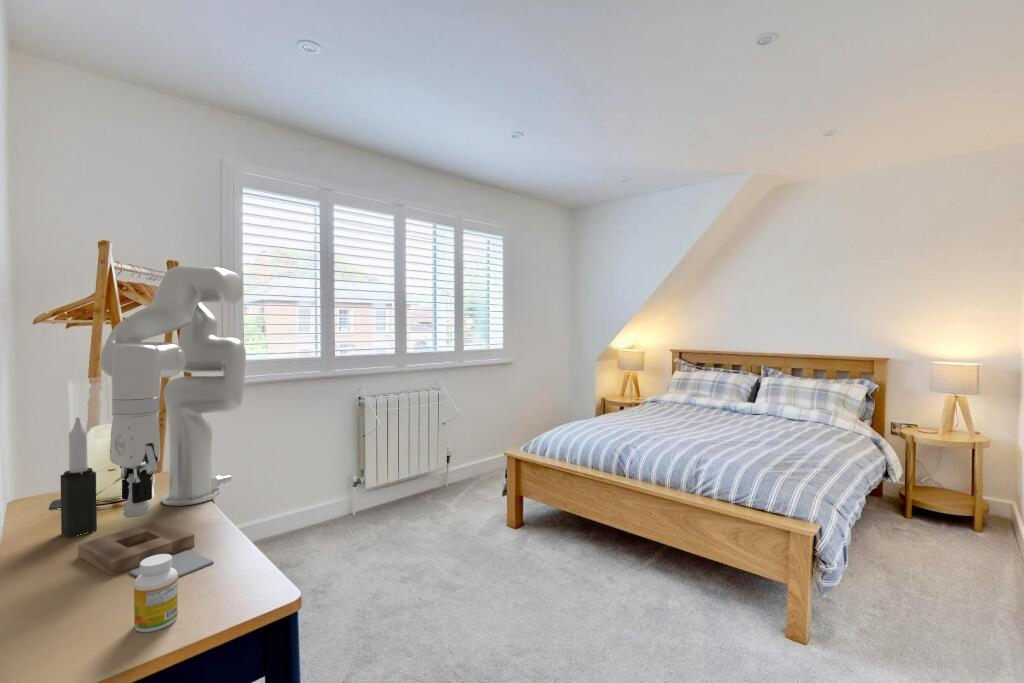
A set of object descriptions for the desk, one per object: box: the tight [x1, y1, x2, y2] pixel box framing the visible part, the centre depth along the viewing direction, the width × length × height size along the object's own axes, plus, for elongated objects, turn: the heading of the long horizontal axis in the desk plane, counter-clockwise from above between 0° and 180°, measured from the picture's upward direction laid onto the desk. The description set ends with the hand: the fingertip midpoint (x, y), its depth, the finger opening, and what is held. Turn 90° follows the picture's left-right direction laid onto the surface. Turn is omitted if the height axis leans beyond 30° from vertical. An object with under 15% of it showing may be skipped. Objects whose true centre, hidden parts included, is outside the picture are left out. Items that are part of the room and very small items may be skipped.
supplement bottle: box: [133, 554, 179, 633], centre depth 75 cm, size 5×5×10 cm
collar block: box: [77, 520, 195, 577], centre depth 99 cm, size 14×14×2 cm
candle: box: [60, 417, 98, 539], centre depth 107 cm, size 5×5×25 cm
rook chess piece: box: [122, 471, 152, 518], centre depth 98 cm, size 4×4×8 cm
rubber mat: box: [128, 549, 215, 578], centre depth 92 cm, size 10×9×1 cm
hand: (137, 498), depth 98 cm, fingers closed on rook chess piece, 3 cm apart
